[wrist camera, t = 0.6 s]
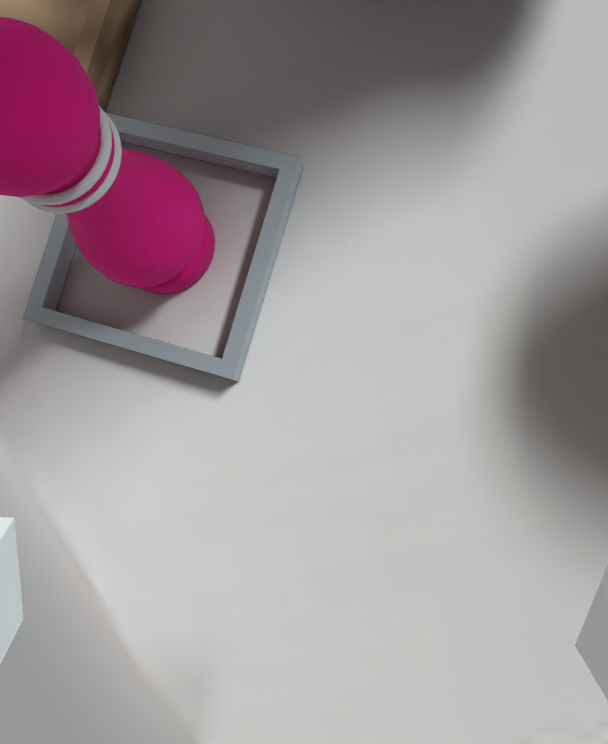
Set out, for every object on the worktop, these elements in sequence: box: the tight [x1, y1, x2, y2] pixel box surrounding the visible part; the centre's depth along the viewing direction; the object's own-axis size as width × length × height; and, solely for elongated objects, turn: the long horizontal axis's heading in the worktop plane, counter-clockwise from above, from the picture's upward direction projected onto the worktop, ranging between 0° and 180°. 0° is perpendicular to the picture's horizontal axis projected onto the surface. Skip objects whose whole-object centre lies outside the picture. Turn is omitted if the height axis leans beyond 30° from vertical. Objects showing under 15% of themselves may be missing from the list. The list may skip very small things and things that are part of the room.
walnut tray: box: [0, 0, 141, 112], centre depth 38 cm, size 14×14×3 cm
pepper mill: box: [0, 17, 215, 294], centre depth 27 cm, size 7×7×20 cm
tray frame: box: [23, 112, 303, 382], centre depth 36 cm, size 14×14×2 cm
